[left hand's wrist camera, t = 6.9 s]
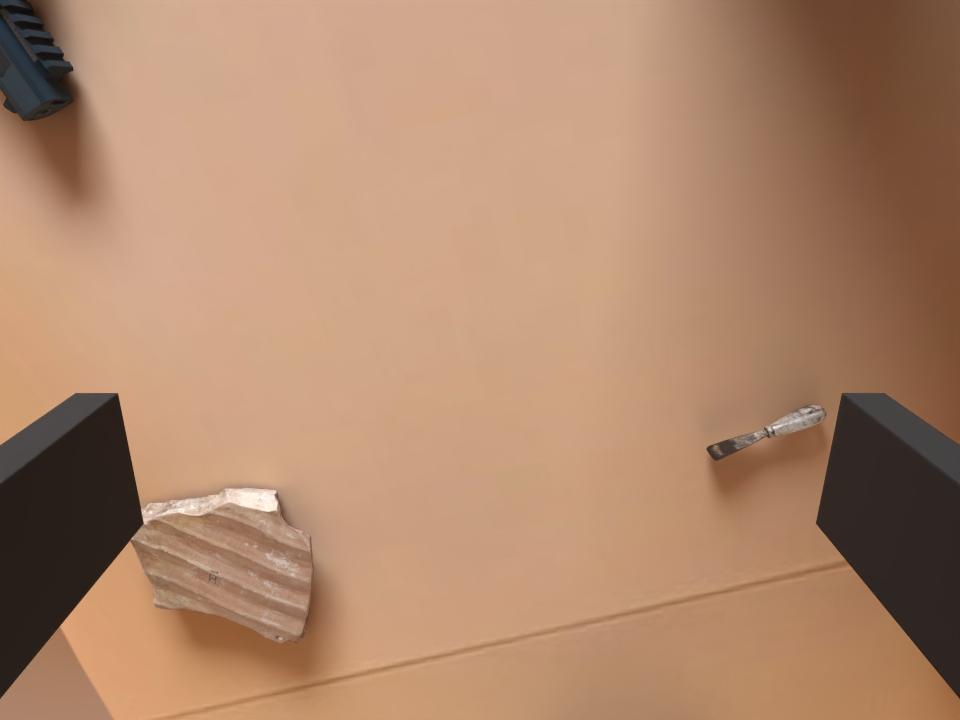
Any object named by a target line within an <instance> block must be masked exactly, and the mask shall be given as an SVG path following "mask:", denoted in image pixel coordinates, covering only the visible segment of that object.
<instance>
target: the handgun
mask: <svg viewBox="0 0 960 720" xmlns="http://www.w3.org/2000/svg"><path fill="white" fill-rule="evenodd" d="M32 13H34V9H33V8H32V6H31V5H30V3H29V2H25V1H23V0H0V89H1V91H2V92H3V93H4V95H5V96H6V97H7V98H6V100H5V102H4V104H3V105H4V107H5V108H6V109H8V110H10V111H11V112H13V113H18V114H19V115H20V117H21V118H22V120H23V121H29V120H38V119H41V118H44V117H47V116H49V115H52V114H54V113H55V112H57V111H59V110H60V109H62V108H64V107H65V106H67V105H68V104H70V103H72V102H73V101H74V100H73V99H72V97H71V96H70V94H69V93H68V92H67V90H66V89H65V87H64V86H63V84H62V83H61V82H60V80H59V79H60V78H61V77H62V75H63V74H65V73H68V72H71V71H73V67H72V65H71V64H70V62H65V61H64V59H63V58H62V57H64V53H63V52H62V50H61V49H60V47H55V46H54V45H53V43H52V42H53V41H54V39H53V37H52V36H51V34H50V33H49V32H44V30H43V29H42V27H44V24H43V22H42V21H41V20H40V18H37V17H34V15H33V14H32Z"/></svg>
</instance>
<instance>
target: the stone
mask: <svg viewBox="0 0 960 720" xmlns="http://www.w3.org/2000/svg"><path fill="white" fill-rule="evenodd" d="M141 511H142V516H143V521H144V524H143V525H142V526H141V528H140V529H139V530H138V531H137V533H136V534H135V535H134V536H133V537H132V539H131V540H130V542H131V543H132V545H133V546H134V548H135V550H136V553H137V556H138V559H139V561H140V563H141V566H142V569H143V571H144V573H145V574H146V576H147V577H148V579H149V581H150V582H151V584H152V586H153V596H154V605H155V606H156V607H157V608H162V609H169V610H171V609H187V610H192V611H197V612H201V613H205V614H214V615H217V616H220V617H223V618H225V619H228V620H231V621H233V622H236V623H238V624H241V625H244V626H246V627H249V628H251V629H252V630H254V631H256V632H258V633H260V634H261V635H263V636H264V637H267V638H269V639H272V640H274V641H277V642H280V643H284V642H286V641H288V640H289V641H292V642H296V643H298V642H299V639H300V638H302V637H304V635H305V633H306V622H307V616H308V611H309V607H310V602H311V592H310V589H311V584H312V579H313V569H314V567H313V562H312V546H311V537H310V535H308V534H307V533H306V532H304V531H300V530H298V529H294V528H293V527H290V526H289V525H288V524H287V523H286V522H285V520H284V518H283V517H282V515H281V508H280V504H279V502H278V493H277V491H276V490H269V489H255V488H242V489H239V488H237V489H234V488H226V489H224V490H222V491H221V492H220V493H219V494H217V495H208V496H207V497H202V498H193V499H185V500H177V501H176V500H171V501H168V502H165V503H150V504H147V508H145V509H141Z"/></svg>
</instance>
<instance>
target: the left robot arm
mask: <svg viewBox="0 0 960 720" xmlns="http://www.w3.org/2000/svg"><path fill="white" fill-rule="evenodd" d="M143 524H144V521H143V516H142V511H141V506H140V501H139V496H138V491H137V486H136V481H135V476H134V471H133V466H132V461H131V456H130V451H129V446H128V441H127V436H126V431H125V426H124V421H123V416H122V411H121V406H120V401H119V396H118V393H75V394H74V395H72V396H71V397H70V398H68V399H67V400H65V401H64V402H62V403H61V404H59V405H58V406H57V407H55V408H54V409H52V410H51V411H49V412H48V413H46V414H45V415H43V416H42V417H41V418H39V419H38V420H36V421H35V422H33V423H32V424H30V425H29V426H28V427H26V428H25V429H23V430H22V431H20V432H19V433H17V434H16V435H15V436H13V437H12V438H10V439H9V440H7V441H6V442H4V443H3V444H2V445H0V698H1V697H2V696H3V695H4V693H5V692H6V691H7V690H8V689H9V687H10V686H11V685H12V684H13V682H14V681H15V680H16V679H17V678H18V676H19V675H20V674H21V673H22V672H23V670H24V669H25V668H26V667H27V665H28V664H29V663H30V662H31V661H32V659H33V658H34V657H35V656H36V654H37V653H38V652H39V651H40V650H41V648H42V647H43V646H44V645H45V643H46V642H47V641H48V640H49V639H50V637H51V636H52V635H53V634H54V633H55V631H56V630H57V629H58V628H59V626H60V625H61V624H62V623H63V622H64V620H65V619H66V618H67V617H68V615H69V614H70V613H71V612H72V611H73V609H74V608H75V607H76V606H77V605H78V603H79V602H80V601H81V600H82V598H83V597H84V596H85V595H86V594H87V592H88V591H89V590H90V589H91V587H92V586H93V585H94V584H95V583H96V581H97V580H98V579H99V578H100V576H101V575H102V574H103V573H104V572H105V570H106V569H107V568H108V567H109V565H110V564H111V563H112V562H113V561H114V559H115V558H116V557H117V556H118V555H119V553H120V552H121V551H122V550H123V548H124V547H125V546H126V545H127V544H128V542H129V541H130V540H131V539H132V537H133V536H134V535H135V534H136V533H137V531H138V530H139V529H140V528H141V526H142V525H143ZM816 524H817V525H818V526H819V528H820V529H821V530H822V531H823V533H824V534H825V535H826V536H827V537H828V539H829V540H830V541H831V542H832V544H833V545H834V546H835V547H836V548H837V550H838V551H839V552H840V553H841V555H842V556H843V557H844V558H845V559H846V561H847V562H848V563H849V564H850V565H851V567H852V568H853V569H854V570H855V572H856V573H857V574H858V575H859V576H860V578H861V579H862V580H863V581H864V583H865V584H866V585H867V586H868V587H869V589H870V590H871V591H872V592H873V594H874V595H875V596H876V597H877V598H878V600H879V601H880V602H881V603H882V605H883V606H884V607H885V608H886V609H887V611H888V612H889V613H890V614H891V615H892V617H893V618H894V619H895V620H896V622H897V623H898V624H899V625H900V626H901V628H902V629H903V630H904V631H905V633H906V634H907V635H908V636H909V637H910V639H911V640H912V641H913V642H914V644H915V645H916V646H917V647H918V648H919V650H920V651H921V652H922V653H923V655H924V656H925V657H926V658H927V659H928V661H929V662H930V663H931V664H932V665H933V667H934V668H935V669H936V670H937V672H938V673H939V674H940V675H941V676H942V678H943V679H944V680H945V681H946V683H947V684H948V685H949V686H950V687H951V689H952V690H953V691H954V692H955V694H956V695H957V696H958V697H959V698H960V445H958V444H957V443H956V442H954V441H953V440H951V439H950V438H948V437H947V436H945V435H944V434H943V433H941V432H940V431H938V430H937V429H935V428H934V427H932V426H931V425H930V424H928V423H927V422H925V421H924V420H922V419H921V418H919V417H918V416H917V415H915V414H914V413H912V412H911V411H909V410H908V409H906V408H905V407H903V406H902V405H901V404H899V403H898V402H896V401H895V400H893V399H892V398H890V397H889V396H888V395H886V394H885V393H842V396H841V401H840V406H839V411H838V416H837V421H836V426H835V431H834V436H833V441H832V446H831V451H830V456H829V461H828V466H827V471H826V476H825V481H824V486H823V491H822V496H821V501H820V506H819V511H818V516H817V521H816Z"/></svg>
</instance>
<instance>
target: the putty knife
mask: <svg viewBox="0 0 960 720" xmlns="http://www.w3.org/2000/svg"><path fill="white" fill-rule="evenodd" d="M825 417H826V412H825V409H824V408H823V407H822V406H820V405H810V406H807V407H804V408H801V409H798V410H796V411H794V412H792V413H790V414H788V415H786V416H784V417H782V418H781V419H779V420H777V421H775V422H774V423H772V424H770V425H768V426H767V427H765V428H764V429H765V430H762V431H758V432H754V433H750V434H746V435H743V436H739V437H735V438H732V439H729V440H726V441H722V442H719V443H717V444H714V445H711V446H709V447H707V451H708V452H709V454H710V455H711V457H712V458H713V459H714V460H719V459H722V458H724V457H726V456H728V455H730V454H732V453H735V452H737V451H739V450H741V449H743V448H745V447H747V446H749V445H751V444H753V443H755V442H757V441H759V440H760V439H762V438H764V437H766V436H767V437H768V438H771V437H774V436H781V435H785V434H789V433H792V432H796V431H800V430H803V429H806V428H809V427H811V426H814V425H816V424H819V423H821V422H822V421H823V420H824V419H825Z"/></svg>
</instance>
